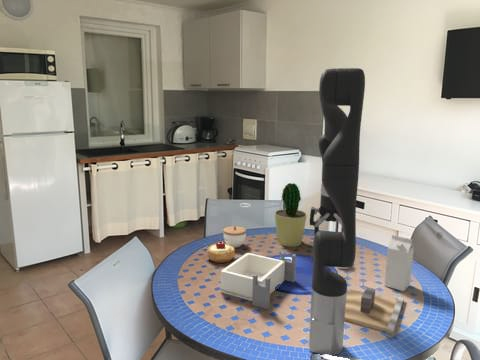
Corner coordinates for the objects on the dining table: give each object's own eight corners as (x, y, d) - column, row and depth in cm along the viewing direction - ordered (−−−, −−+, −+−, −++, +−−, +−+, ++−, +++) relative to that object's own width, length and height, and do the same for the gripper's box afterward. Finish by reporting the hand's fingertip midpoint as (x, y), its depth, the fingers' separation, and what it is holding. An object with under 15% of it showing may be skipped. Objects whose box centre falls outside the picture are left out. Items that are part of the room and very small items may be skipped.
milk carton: (390, 279, 152) (395, 232, 148) (409, 285, 148) (415, 237, 144) (384, 286, 147) (388, 237, 143) (403, 292, 142) (409, 242, 138)
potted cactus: (310, 240, 193) (313, 181, 187) (298, 250, 180) (301, 186, 174) (281, 235, 201) (283, 177, 195) (268, 244, 188) (270, 182, 182)
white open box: (267, 309, 129) (268, 279, 127) (217, 294, 138) (217, 266, 136) (295, 280, 150) (296, 254, 148) (249, 269, 159) (250, 245, 157)
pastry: (201, 259, 170) (200, 240, 168) (222, 252, 178) (221, 233, 177) (220, 267, 162) (219, 246, 160) (240, 258, 170) (240, 239, 168)
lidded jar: (220, 242, 190) (220, 223, 188) (241, 240, 193) (242, 222, 191) (226, 250, 179) (226, 230, 178) (248, 248, 183) (249, 228, 181)
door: (391, 339, 114) (394, 319, 113) (332, 322, 123) (333, 303, 121) (403, 302, 136) (405, 284, 134) (351, 290, 144) (353, 273, 143)
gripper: (311, 195, 130) (309, 240, 135) (355, 197, 128) (352, 242, 133) (310, 188, 137) (308, 231, 142) (352, 190, 135) (349, 233, 140)
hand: (329, 236), depth 137 cm, fingers open, 8 cm apart
